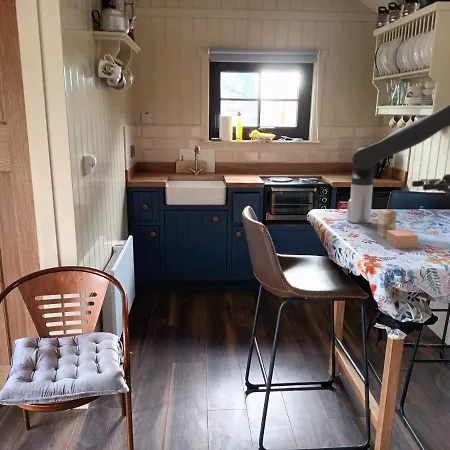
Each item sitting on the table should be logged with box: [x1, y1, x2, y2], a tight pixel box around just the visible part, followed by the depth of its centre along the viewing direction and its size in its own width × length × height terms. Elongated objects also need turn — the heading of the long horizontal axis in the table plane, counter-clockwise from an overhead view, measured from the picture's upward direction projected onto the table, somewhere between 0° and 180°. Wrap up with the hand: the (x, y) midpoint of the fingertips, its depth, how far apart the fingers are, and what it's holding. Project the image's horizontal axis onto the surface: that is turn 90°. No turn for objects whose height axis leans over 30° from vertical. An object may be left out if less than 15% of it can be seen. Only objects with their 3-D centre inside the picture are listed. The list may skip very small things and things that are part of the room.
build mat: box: [363, 232, 428, 251], centre depth 175 cm, size 15×23×1 cm, turn 5°
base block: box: [386, 229, 419, 248], centre depth 169 cm, size 8×8×4 cm
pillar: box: [376, 208, 398, 237], centre depth 181 cm, size 5×5×10 cm
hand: (417, 185), depth 178 cm, fingers open, 8 cm apart
